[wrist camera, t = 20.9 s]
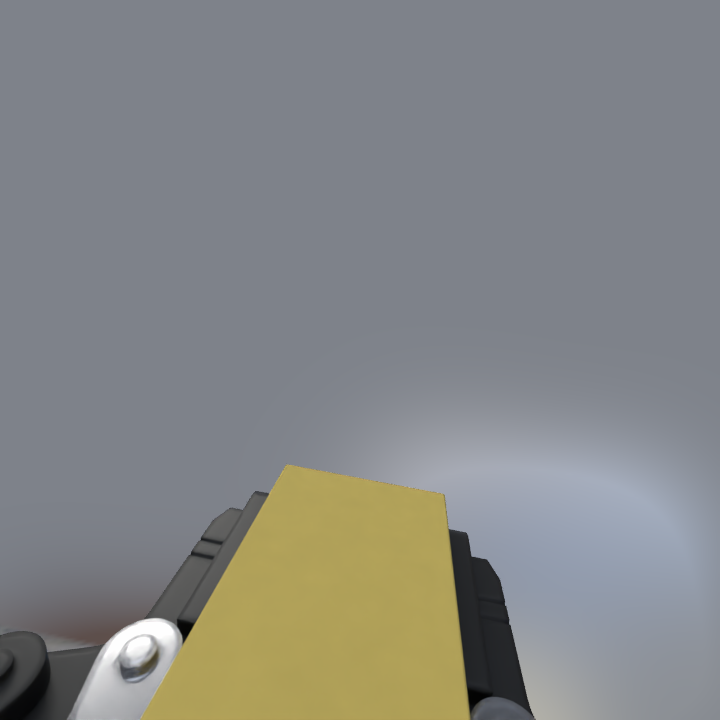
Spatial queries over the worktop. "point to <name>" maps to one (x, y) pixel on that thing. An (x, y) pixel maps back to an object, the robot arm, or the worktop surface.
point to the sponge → (328, 612)
